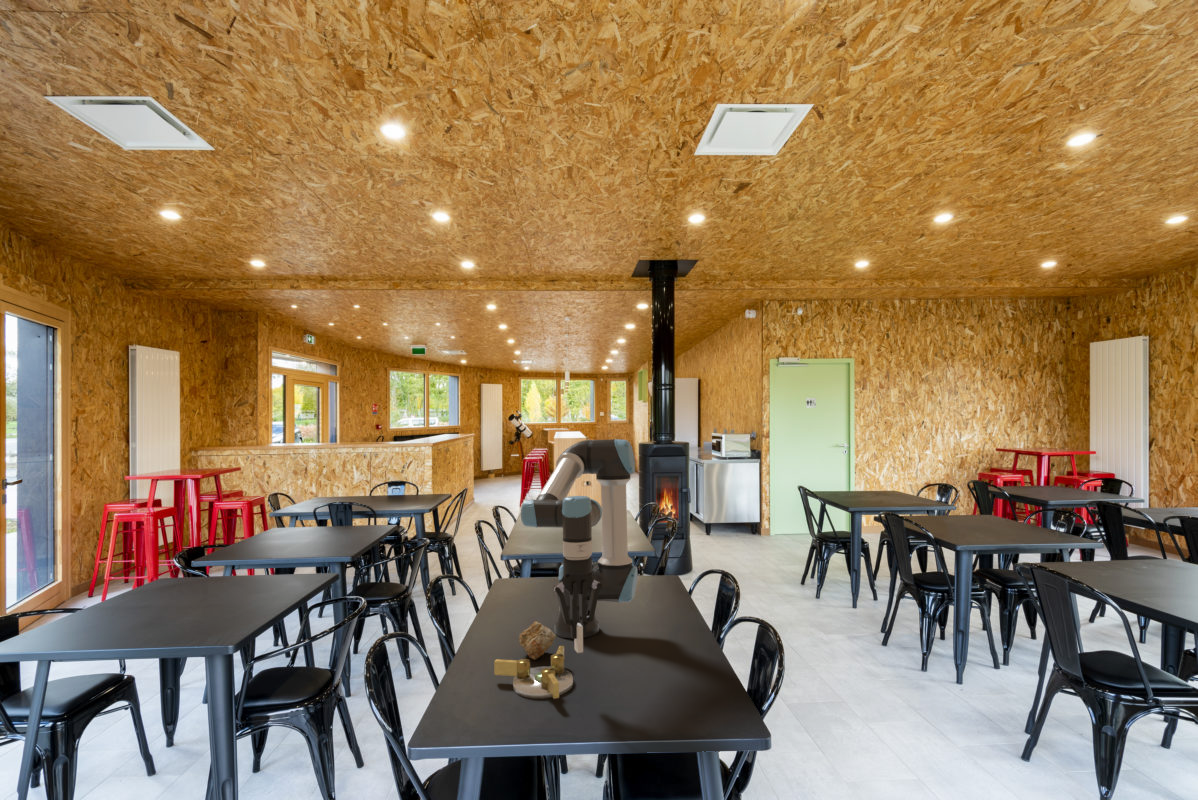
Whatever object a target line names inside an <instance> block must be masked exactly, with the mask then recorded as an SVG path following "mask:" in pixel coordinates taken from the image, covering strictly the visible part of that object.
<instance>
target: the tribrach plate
mask: <svg viewBox="0 0 1198 800" xmlns="http://www.w3.org/2000/svg"><path fill="white" fill-rule="evenodd" d="M544 668H551V665H549V666H547V665H546V666H535V667H530V677H529V678H528V679H518V678H517V676H513V679H512V689H513V691H514V692H515V694H517V695H519V696H522V697H525V698H528V699H529V698H530V699H538V700H539V699H550V698H553V697H552V695H551V694H550V692H549V690H548V689H543V688H542V687H541V670H542V669H544ZM555 678H556V679H557V681H558V682H559V696H562V695H564V694H566V693H567V692H568V691H570V690H571V689H572V688H573V685H574V676H573V673H572V672H570V671H569V670H567V669H566V668H564V672H563V673H560V674H555Z"/></svg>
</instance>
